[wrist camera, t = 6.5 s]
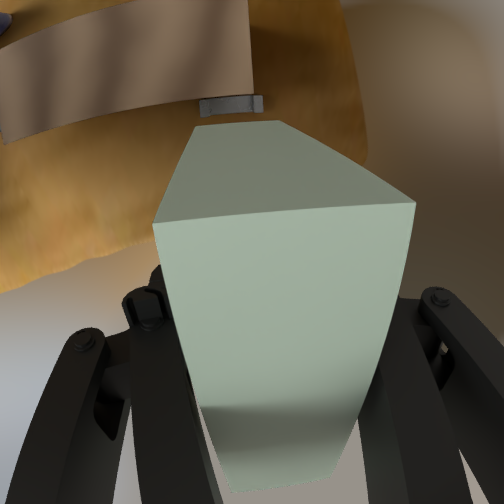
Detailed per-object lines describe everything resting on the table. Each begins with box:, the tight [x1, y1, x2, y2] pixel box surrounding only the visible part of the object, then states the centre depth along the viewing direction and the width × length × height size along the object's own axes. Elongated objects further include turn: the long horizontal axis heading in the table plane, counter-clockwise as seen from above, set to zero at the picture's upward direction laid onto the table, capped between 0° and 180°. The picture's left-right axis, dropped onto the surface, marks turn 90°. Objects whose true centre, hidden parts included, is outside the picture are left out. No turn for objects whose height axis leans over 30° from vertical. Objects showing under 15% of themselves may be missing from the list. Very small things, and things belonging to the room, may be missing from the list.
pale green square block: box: [152, 120, 416, 493], centre depth 11 cm, size 4×10×10 cm, turn 3°
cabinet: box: [0, 0, 254, 145], centre depth 25 cm, size 22×9×14 cm, turn 94°
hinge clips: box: [199, 95, 263, 118], centre depth 36 cm, size 7×10×2 cm
